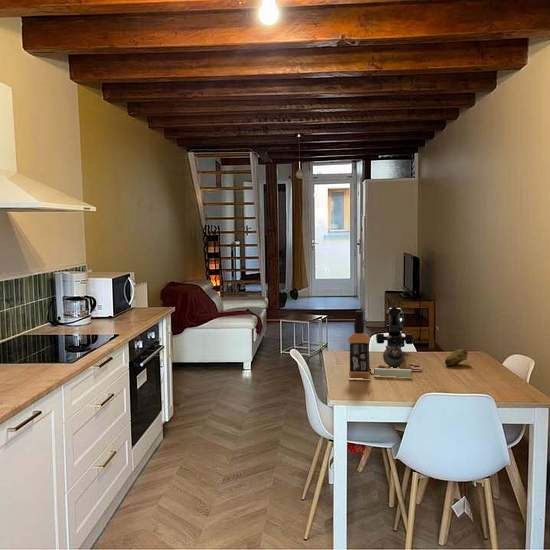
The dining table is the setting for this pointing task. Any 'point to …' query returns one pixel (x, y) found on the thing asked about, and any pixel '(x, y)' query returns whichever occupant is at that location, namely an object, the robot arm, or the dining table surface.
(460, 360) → the olive brown frog figurine
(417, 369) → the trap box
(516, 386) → the dining table surface
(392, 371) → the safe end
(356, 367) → the whiskey bottle
